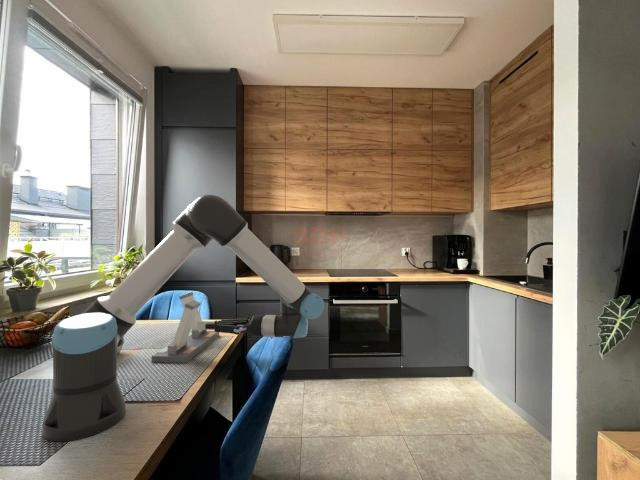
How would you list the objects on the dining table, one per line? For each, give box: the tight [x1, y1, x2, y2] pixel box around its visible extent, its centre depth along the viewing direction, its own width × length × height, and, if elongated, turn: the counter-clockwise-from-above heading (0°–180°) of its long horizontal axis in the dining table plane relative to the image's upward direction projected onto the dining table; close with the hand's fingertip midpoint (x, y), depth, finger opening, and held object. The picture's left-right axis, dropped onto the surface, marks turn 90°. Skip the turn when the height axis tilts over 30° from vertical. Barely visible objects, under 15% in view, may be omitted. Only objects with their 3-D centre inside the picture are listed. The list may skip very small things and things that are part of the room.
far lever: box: [178, 291, 204, 335], centre depth 131 cm, size 3×6×18 cm, turn 177°
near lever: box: [171, 300, 201, 351], centre depth 113 cm, size 3×6×18 cm, turn 177°
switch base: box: [151, 330, 220, 364], centre depth 122 cm, size 12×30×5 cm, turn 177°
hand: (198, 325), depth 113 cm, fingers closed
